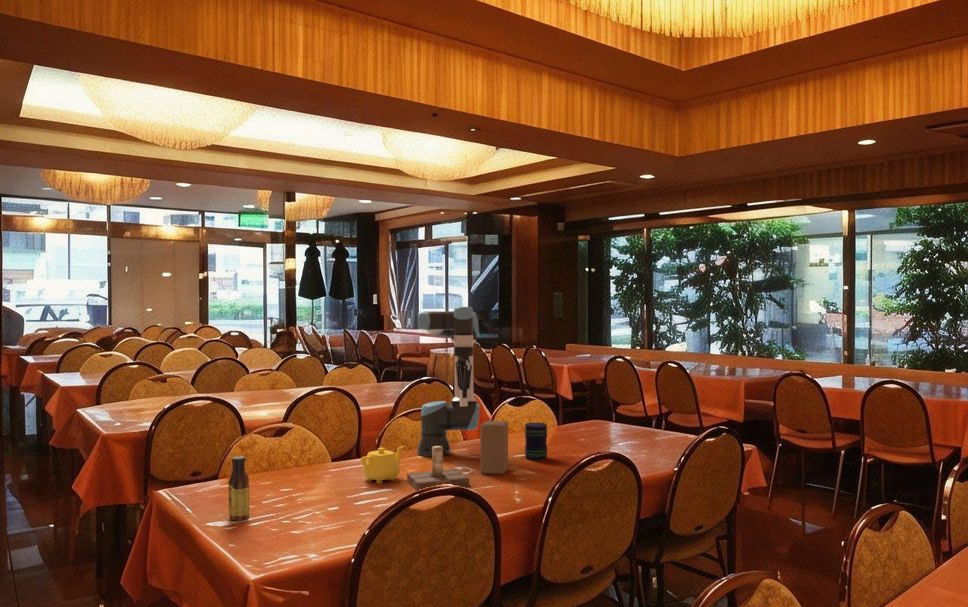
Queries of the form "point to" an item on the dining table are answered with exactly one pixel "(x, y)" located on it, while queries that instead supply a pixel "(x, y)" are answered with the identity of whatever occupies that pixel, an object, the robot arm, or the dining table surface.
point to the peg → (437, 461)
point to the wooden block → (494, 447)
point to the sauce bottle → (238, 490)
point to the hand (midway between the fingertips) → (463, 405)
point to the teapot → (381, 465)
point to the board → (437, 479)
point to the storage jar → (536, 441)
